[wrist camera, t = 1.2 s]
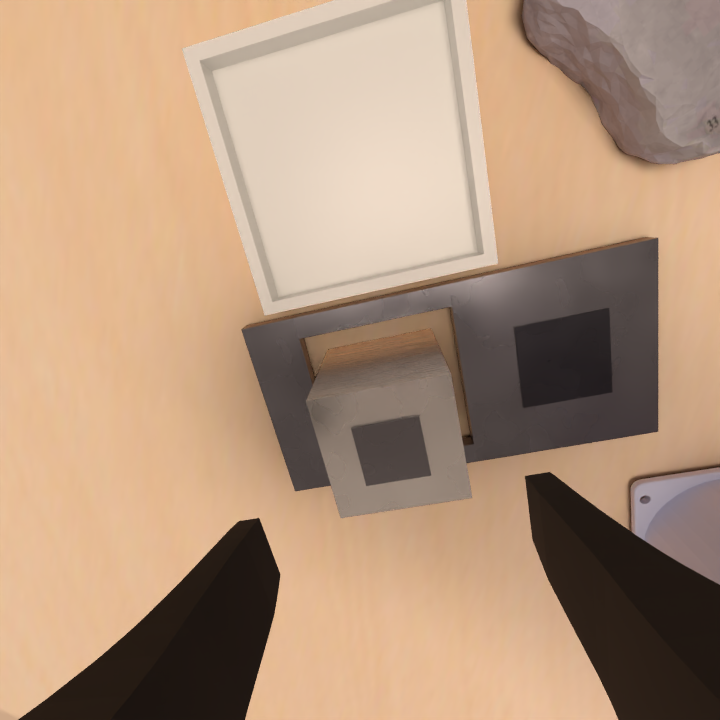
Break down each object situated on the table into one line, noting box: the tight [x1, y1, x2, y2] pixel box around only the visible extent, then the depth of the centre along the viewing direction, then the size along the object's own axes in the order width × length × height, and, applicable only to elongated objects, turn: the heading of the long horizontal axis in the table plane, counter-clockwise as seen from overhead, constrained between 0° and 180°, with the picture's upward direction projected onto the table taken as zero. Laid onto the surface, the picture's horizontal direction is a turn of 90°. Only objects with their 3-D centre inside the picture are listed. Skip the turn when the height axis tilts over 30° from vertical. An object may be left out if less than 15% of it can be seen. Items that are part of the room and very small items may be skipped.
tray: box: [182, 0, 498, 316], centre depth 16 cm, size 10×10×2 cm
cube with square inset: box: [306, 328, 472, 518], centre depth 17 cm, size 5×5×6 cm
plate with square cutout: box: [241, 237, 658, 491], centre depth 19 cm, size 9×18×1 cm, turn 103°
